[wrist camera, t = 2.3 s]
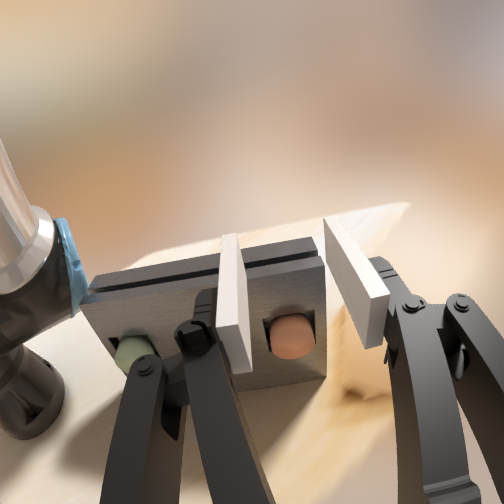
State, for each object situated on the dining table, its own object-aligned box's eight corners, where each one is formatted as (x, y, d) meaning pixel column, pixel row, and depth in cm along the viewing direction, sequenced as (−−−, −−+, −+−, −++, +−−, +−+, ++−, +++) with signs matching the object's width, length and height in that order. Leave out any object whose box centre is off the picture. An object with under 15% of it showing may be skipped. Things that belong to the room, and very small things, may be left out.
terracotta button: (274, 362, 27) (268, 335, 25) (271, 343, 29) (266, 315, 27) (315, 354, 27) (314, 326, 25) (310, 336, 29) (308, 307, 27)
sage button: (125, 376, 28) (107, 352, 26) (130, 359, 30) (114, 335, 28) (157, 375, 28) (141, 350, 26) (161, 357, 30) (146, 331, 28)
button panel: (142, 397, 33) (78, 305, 25) (149, 368, 37) (95, 275, 29) (326, 376, 32) (324, 265, 24) (318, 346, 36) (311, 236, 28)
